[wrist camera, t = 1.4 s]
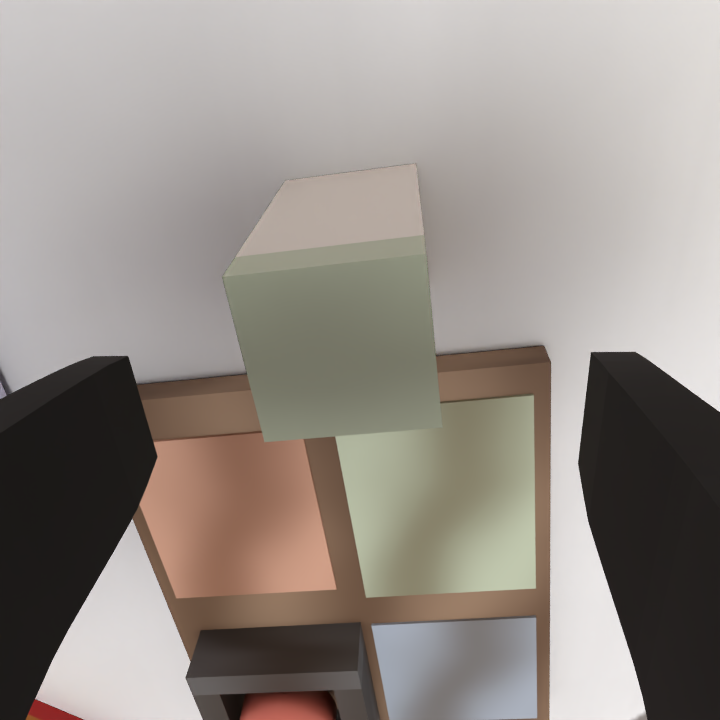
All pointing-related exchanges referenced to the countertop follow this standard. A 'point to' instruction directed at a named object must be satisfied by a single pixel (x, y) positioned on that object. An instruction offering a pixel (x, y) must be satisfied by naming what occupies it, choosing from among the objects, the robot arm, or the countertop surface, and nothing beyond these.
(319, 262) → the two-tone sage block
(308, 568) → the compartment tray
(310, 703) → the button
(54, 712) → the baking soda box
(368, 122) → the countertop surface
